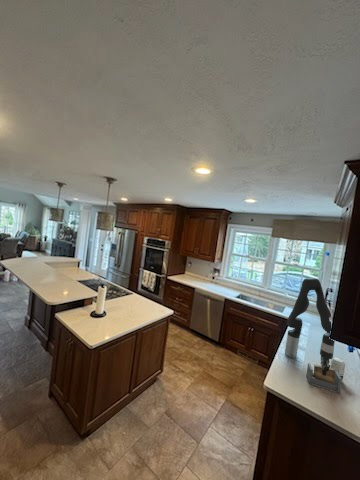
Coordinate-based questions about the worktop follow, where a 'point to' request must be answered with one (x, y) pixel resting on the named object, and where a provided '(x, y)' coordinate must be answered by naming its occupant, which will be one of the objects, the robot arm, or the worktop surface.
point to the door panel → (318, 374)
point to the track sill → (322, 383)
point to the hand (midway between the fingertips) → (323, 373)
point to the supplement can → (338, 366)
